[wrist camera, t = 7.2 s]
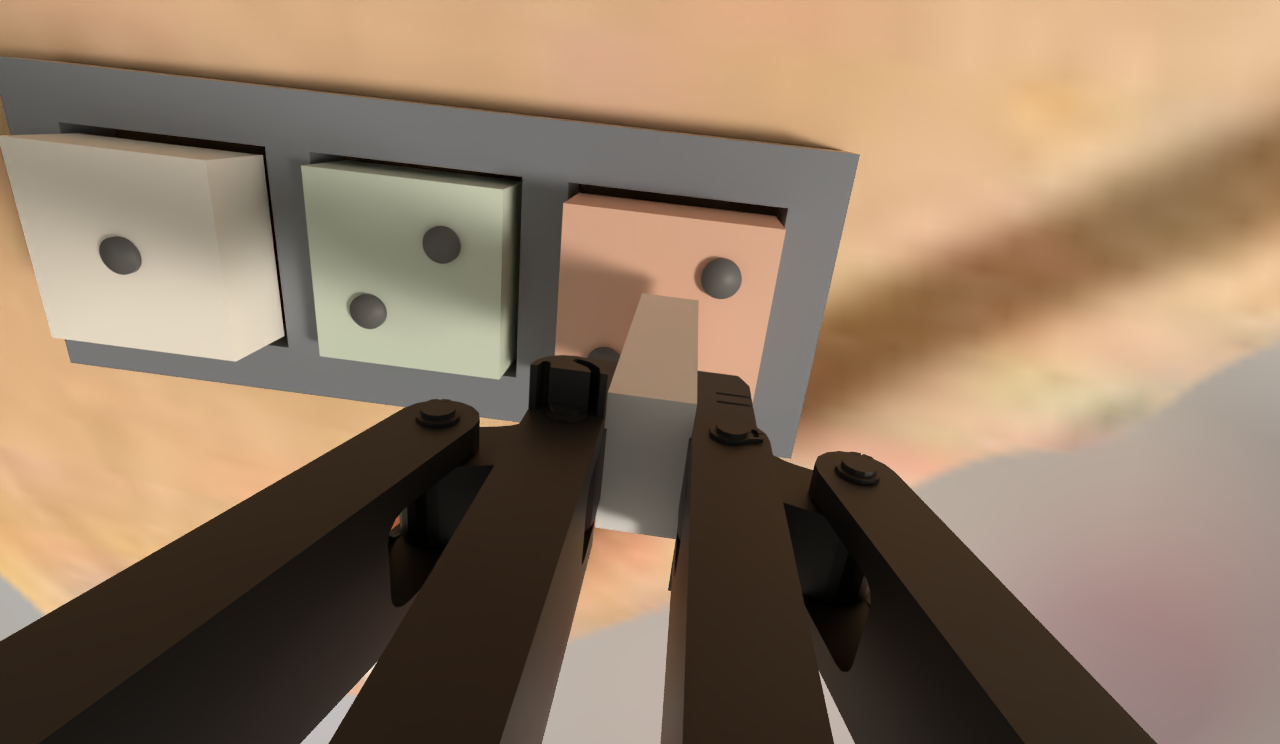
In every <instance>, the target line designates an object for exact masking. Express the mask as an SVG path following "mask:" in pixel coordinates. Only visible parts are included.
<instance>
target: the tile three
mask: <svg viewBox="0 0 1280 744" xmlns="http://www.w3.org/2000/svg"><path fill="white" fill-rule="evenodd" d="M785 233H786V229H785V228H784V227H783V225H782V224H781V223H780V221H779V220H778V219H777V218H776V216H772V215H763V214H755V213H746V212H738V211H730V210H721V209H713V208H704V207H696V206H687V205H679V204H671V203H662V202H654V201H645V200H637V199H629V198H620V197H612V196H603V195H595V194H586V193H578V194H577V195H575V196H574V197H572V198H570V199H569V200H567V201H566V202H564V203H563V218H562V236H561V254H560V272H559V290H558V308H557V325H556V343H555V356H556V355H569V356H579V357H584V358H592V359H600V360H607V361H615V362H618V361H619V358H620V356H621V353H622V350H623V347H624V344H625V341H626V338H627V335H628V332H629V329H630V327H631V324H632V321H633V318H634V315H635V312H636V309H637V306H638V303H639V301H640V298H641V295H642V293H644V294H652V295H659V296H667V297H675V298H683V299H691V300H698V371H704V372H712V373H720V374H727V375H735V376H739V377H740V378H741V379H742V380H743V381H744V382H745V383H746V384H747V385H749V387H750V392H751V399H752V403H753V399H754V394H755V389H756V384H757V378H758V373H759V368H760V363H761V357H762V352H763V347H764V342H765V337H766V331H767V326H768V321H769V316H770V311H771V305H772V300H773V295H774V290H775V285H776V279H777V274H778V269H779V264H780V259H781V253H782V248H783V243H784V238H785Z"/></svg>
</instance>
